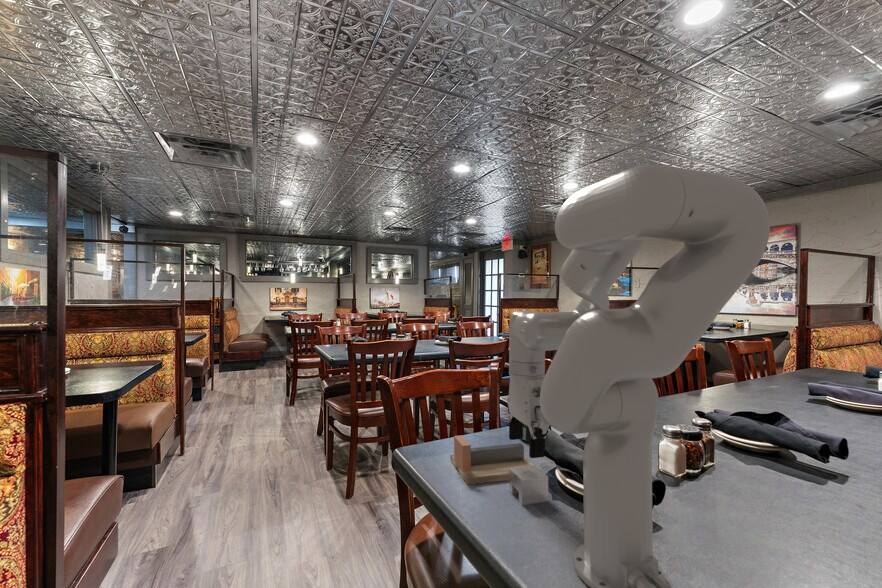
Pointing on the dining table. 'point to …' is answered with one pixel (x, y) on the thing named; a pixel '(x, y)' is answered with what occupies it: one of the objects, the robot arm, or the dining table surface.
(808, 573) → the dining table surface
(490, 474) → the board
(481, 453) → the rail
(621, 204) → the robot arm
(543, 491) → the saddle block
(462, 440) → the stop
